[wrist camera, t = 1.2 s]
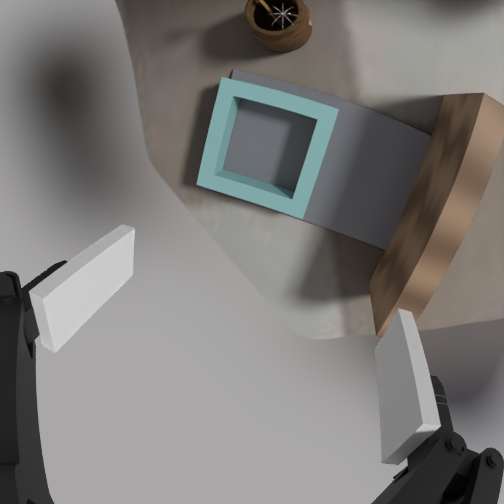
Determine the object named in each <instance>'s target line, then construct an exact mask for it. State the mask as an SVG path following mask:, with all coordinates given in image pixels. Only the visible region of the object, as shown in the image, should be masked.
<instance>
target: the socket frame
mask: <svg viewBox="0 0 504 504" xmlns="http://www.w3.org/2000/svg"><path fill="white" fill-rule="evenodd" d="M241 98H245V99H249V100H253V101H257V102H260V103H264V104H268V105H272V106H275V107H279V108H282V109H286V110H289V111H292V112H296V113H299V114H302V115H305V116H309V117H312V118H315V119H318V120H317V124H316V127H315V130H314V133H313V136H312V140H311V143H310V146H309V149H308V152H307V155H306V159H305V162H304V165H303V168H302V171H301V174H300V177H299V180H298V184H297V187H296V190H295V192H293V191H290V190H287V189H284V188H281V187H278V186H275V185H272V184H269V183H266V182H263V181H259V180H256V179H253V178H250V177H247V176H243V175H240V174H237V173H233V172H230V171H227V170H223V165H224V161H225V157H226V153H227V149H228V145H229V141H230V137H231V133H232V129H233V125H234V121H235V117H236V114H237V110H238V106H239V102H240V99H241ZM338 111H339V109H337V108H334V107H331V106H328V105H325V104H322V103H318V102H315V101H312V100H309V99H306V98H302V97H299V96H296V95H292V94H289V93H285V92H282V91H278V90H274V89H270V88H266V87H263V86H259V85H254V84H250V83H246V82H242V81H237V80H233V79H228V78H223V77H222V78H221V82H220V86H219V90H218V94H217V98H216V102H215V106H214V110H213V114H212V118H211V122H210V126H209V130H208V135H207V139H206V143H205V148H204V152H203V157H202V161H201V166H200V170H199V175H198V180H197V184H196V185H199V186H202V187H205V188H209V189H212V190H215V191H218V192H222V193H225V194H228V195H231V196H234V197H237V198H240V199H244V200H247V201H250V202H253V203H256V204H259V205H262V206H265V207H268V208H271V209H274V210H277V211H280V212H283V213H286V214H289V215H292V216H295V217H298V218H301V219H303V217H304V214H305V211H306V208H307V205H308V202H309V199H310V196H311V193H312V190H313V187H314V185H315V182H316V179H317V176H318V173H319V170H320V167H321V164H322V161H323V158H324V155H325V151H326V148H327V145H328V142H329V139H330V136H331V133H332V130H333V127H334V124H335V120H336V117H337V114H338Z"/></svg>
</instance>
